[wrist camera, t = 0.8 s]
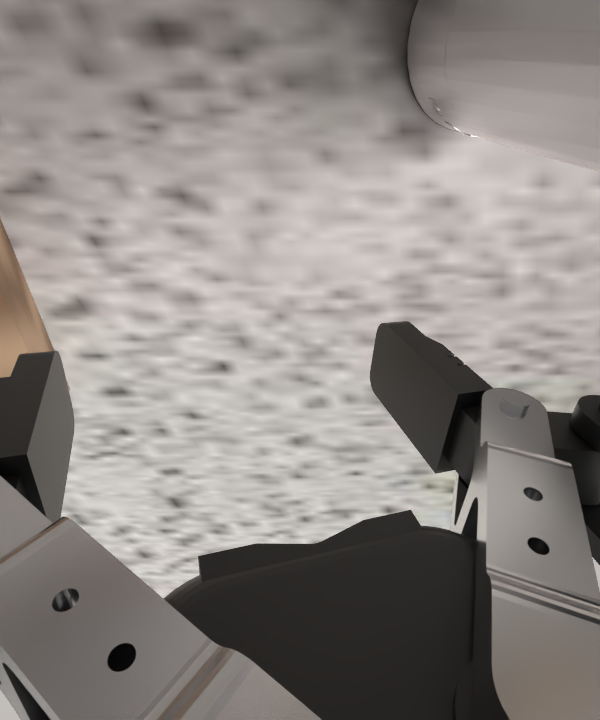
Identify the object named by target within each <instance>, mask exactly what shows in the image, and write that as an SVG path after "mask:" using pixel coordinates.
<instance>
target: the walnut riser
mask: <svg viewBox="0 0 600 720" xmlns="http://www.w3.org/2000/svg"><path fill="white" fill-rule="evenodd" d="M47 351H54V349H53V346H52V344H51V342H50V339H49V337H48V334H47V332H46V329H45V327H44V324H43V322H42V319H41V317H40V315H39V312H38V310H37V307H36V305H35V302H34V300H33V297H32V295H31V292H30V290H29V288H28V285H27V283H26V280H25V278H24V275H23V273H22V270H21V268H20V265H19V263H18V261H17V258H16V256H15V253H14V251H13V248H12V246H11V243H10V241H9V238H8V236H7V234H6V231H5V229H4V226H3V224H2V221H1V219H0V378H2V377H10V376H11V374H12V371H13V369H14V366H15V364H16V361H17V359H18V356H19V355H20V354H24V353H36V352H47ZM66 382H67V381H66ZM67 386H68V383H67ZM69 389H70V388H69V386H68V391H69Z"/></svg>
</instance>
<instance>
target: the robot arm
mask: <svg viewBox="0 0 600 720" xmlns="http://www.w3.org/2000/svg"><path fill="white" fill-rule="evenodd" d="M407 64H408V70H409V77H410V83H411V86H412V88H413V91H414V94H415V97H416V99H417V101H418V102H419V104H420V106H421V107H422V109H423V110H424V112H425V113H426V114H427V115H428V116H429V117H430V118H431V119H433V120H434V121H435V122H436V123H438V124H440V125H442V126H444V127H446V128H448V129H452V130H455V131H458V132H461V133H462V134H466V135H469V136H474V137H480V138H483V139H486V140H489V141H493V142H496V143H500V144H503V145H507V146H510V147H514V148H517V149H521V150H525V151H528V152H532V153H535V154H539V155H542V156H546V157H549V158H553V159H556V160H560V161H563V162H567V163H570V164H574V165H577V166H581V167H584V168H588V169H591V170H595V171H598V172H600V0H418V2H417V5H416V8H415V11H414V14H413V17H412V20H411V26H410V32H409V38H408V61H407ZM370 381H371V386H372V389H373V391H374V393H375V395H376V396H377V397H378V399H379V400H380V401H381V403H382V404H383V405H384V407H385V408H386V409H387V411H388V412H389V413H390V414H391V416H392V417H393V418H394V420H395V421H396V422H397V424H398V425H399V426H400V428H401V429H402V430H403V431H404V433H405V434H406V435H407V437H408V438H409V439H410V441H411V442H412V443H413V445H414V446H415V447H416V449H417V450H418V451H419V452H420V454H421V455H422V456H423V458H424V459H425V460H426V462H427V463H428V464H429V466H430V467H431V468H432V470H433V471H434V472H435V473H441V472H446V471H451V470H456V472H457V473H458V474H457V477H456V480H455V484H454V493H453V503H452V513H451V523H450V530H446V529H442V528H436V527H429V526H421V525H420V524H419V522H418V521H417V519H416V518H415V516H414V514H413V513H412V511H411V510H408V511H404V512H399V513H394V514H390V515H385V516H381V517H376V518H371V519H367V520H363V521H361V522H359V523H357V524H355V525H353V526H351V527H349V528H347V529H345V530H343V531H341V532H339V533H338V534H336V535H334V536H332V537H330V538H328V539H326V540H324V541H322V542H319V543H316V544H252V545H248V546H243V547H238V548H234V549H229V550H225V551H220V552H216V553H211V554H206V555H202V556H198V560H199V573H200V575H199V576H197V577H195V578H193V579H191V580H189V581H187V582H186V583H184V584H183V585H181V586H179V587H178V588H176V589H175V590H174V591H172V592H171V593H170V594H169V595H167V596H166V597H165V598H164V599H163V598H162V597H161V596H159V595H158V594H157V593H156V592H155V591H154V590H153V589H151V588H150V587H149V586H148V585H147V584H146V583H144V582H143V581H142V580H141V579H140V578H139V577H138V576H136V575H135V574H134V573H133V572H132V571H131V570H129V569H128V568H127V567H126V566H125V565H124V564H123V563H121V562H120V561H119V560H118V559H117V558H116V557H114V556H113V555H112V554H111V553H110V552H109V551H108V550H106V549H105V548H104V547H103V546H102V545H101V544H99V543H98V542H97V541H96V540H95V539H94V538H92V537H91V536H90V535H89V534H88V533H87V532H86V531H84V530H83V529H82V528H81V527H80V526H79V525H77V524H76V523H75V522H74V521H73V520H71V519H69V518H67V517H61V510H62V504H63V498H64V492H65V485H66V479H67V473H68V467H69V460H70V454H71V448H72V441H73V435H74V415H73V408H72V403H71V399H70V395H69V391H68V386H67V382H66V378H65V373H64V369H63V365H62V361H61V357H60V355H59V353H58V351H47V352H36V353H24V354H20V355H19V356H18V359H17V361H16V364H15V366H14V369H13V371H12V374H11V376H10V377H2V378H0V690H1V691H2V692H3V694H4V695H5V697H6V698H7V699H8V701H9V702H10V704H11V705H12V707H13V708H14V709H15V711H16V713H17V714H18V716H19V718H20V719H21V720H600V591H599V587H598V582H597V577H596V573H595V569H594V564H593V559H592V557H593V558H594V559H595V560H596V561H597V562H598V564H599V565H600V396H599V395H587V396H584V397H581V398H580V399H579V401H578V403H577V405H576V407H575V409H574V412H573V413H560V412H547V411H546V409H545V407H544V406H543V405H542V404H541V403H540V402H539V401H538V400H536V399H535V398H533V397H531V396H530V395H528V394H525V393H523V392H520V391H517V390H513V389H508V388H492V387H491V386H490V385H489V384H487V383H486V382H485V381H484V380H483V379H482V378H481V377H479V376H478V375H477V374H476V373H475V372H474V371H473V370H471V369H470V368H469V367H468V366H467V365H464V363H463V362H462V361H461V360H460V359H459V358H458V357H454V354H453V353H452V352H451V351H449V350H448V349H447V348H446V347H445V346H444V345H442V344H440V343H438V342H436V341H434V340H432V339H430V338H428V337H426V336H425V335H424V334H422V333H421V332H420V331H419V330H418V329H417V328H416V327H415V326H413V325H412V324H411V323H410V322H408V321H403V322H391V323H382V324H380V326H379V327H378V329H377V333H376V339H375V346H374V352H373V358H372V364H371V370H370ZM60 517H61V518H60Z"/></svg>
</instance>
